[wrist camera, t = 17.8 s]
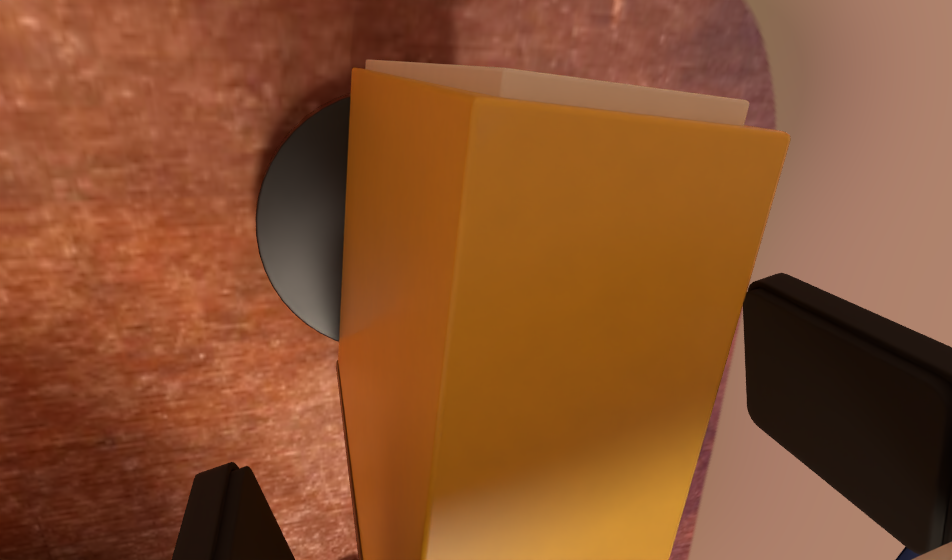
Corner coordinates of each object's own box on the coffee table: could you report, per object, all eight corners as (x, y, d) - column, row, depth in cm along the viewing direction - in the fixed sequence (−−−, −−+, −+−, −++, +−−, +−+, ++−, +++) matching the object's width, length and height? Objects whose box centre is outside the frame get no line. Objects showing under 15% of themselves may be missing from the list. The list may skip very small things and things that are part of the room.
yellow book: (336, 369, 23) (388, 820, 9) (350, 57, 19) (471, 62, 6) (438, 366, 24) (614, 763, 11) (470, 72, 20) (806, 107, 7)
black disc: (391, 24, 20) (396, 22, 19) (561, 215, 25) (573, 223, 24) (196, 228, 21) (191, 238, 20) (396, 380, 25) (400, 395, 24)
